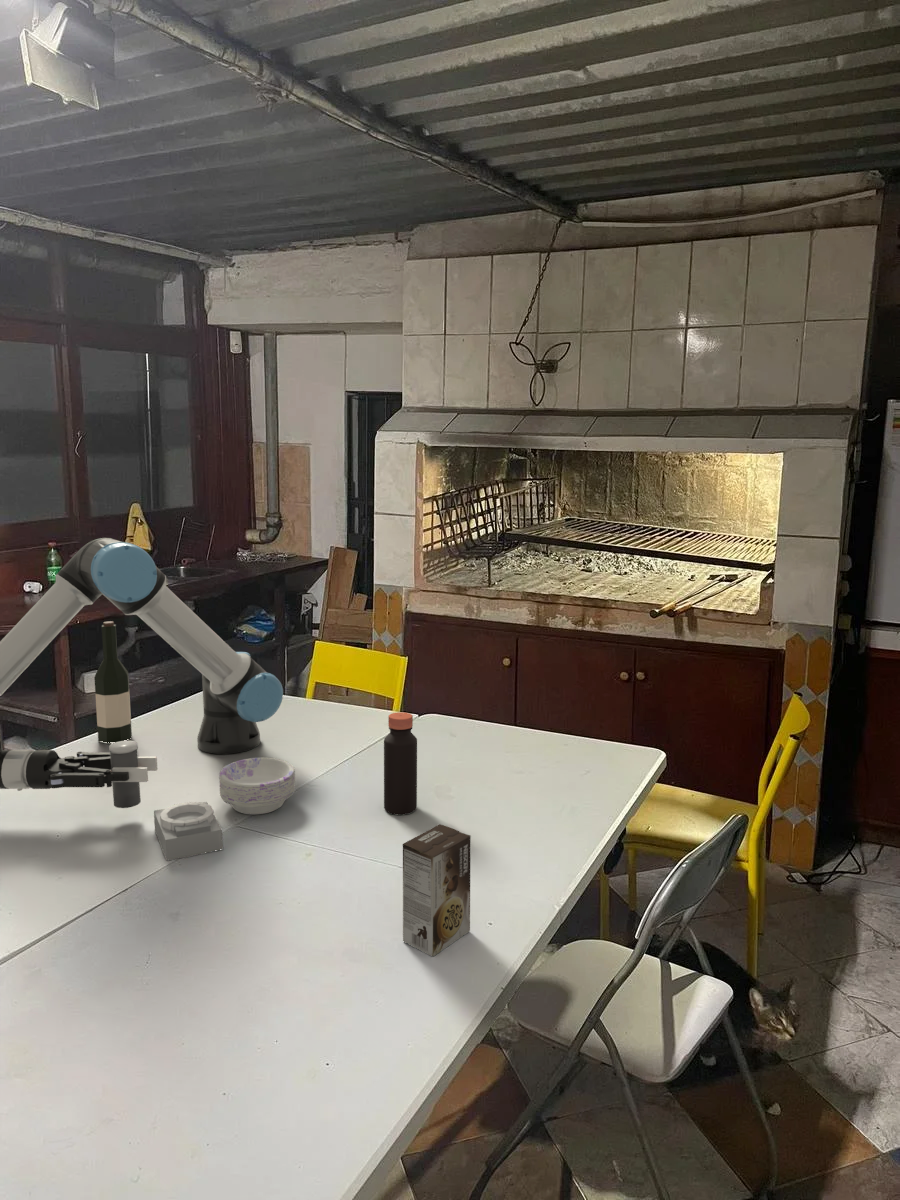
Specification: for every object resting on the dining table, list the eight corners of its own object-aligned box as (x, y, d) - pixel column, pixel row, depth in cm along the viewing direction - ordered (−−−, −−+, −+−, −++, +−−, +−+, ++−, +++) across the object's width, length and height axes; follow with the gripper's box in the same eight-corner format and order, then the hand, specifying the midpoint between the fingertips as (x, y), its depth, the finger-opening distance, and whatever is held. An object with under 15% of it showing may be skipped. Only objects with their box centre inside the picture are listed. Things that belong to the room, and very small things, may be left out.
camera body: (207, 820, 173) (206, 794, 172) (222, 849, 161) (221, 821, 160) (154, 830, 169) (153, 803, 168) (166, 860, 157) (165, 832, 156)
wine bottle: (138, 734, 224) (132, 619, 219) (123, 744, 216) (116, 626, 211) (107, 732, 225) (100, 618, 220) (91, 743, 217) (83, 625, 211)
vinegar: (377, 811, 179) (377, 717, 175) (394, 799, 185) (394, 708, 181) (406, 818, 176) (406, 722, 172) (422, 806, 182) (423, 713, 178)
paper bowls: (278, 824, 172) (277, 786, 171) (207, 817, 175) (205, 779, 174) (306, 794, 187) (305, 759, 185) (240, 788, 190) (238, 753, 188)
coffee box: (439, 917, 139) (440, 822, 136) (471, 932, 135) (472, 834, 132) (400, 942, 132) (400, 842, 129) (433, 958, 128) (433, 855, 125)
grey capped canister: (139, 795, 176) (135, 739, 174) (142, 805, 171) (139, 747, 169) (111, 800, 174) (107, 743, 172) (114, 810, 169) (110, 751, 167)
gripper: (54, 770, 181) (167, 769, 181) (12, 806, 163) (137, 806, 163) (51, 735, 179) (165, 735, 180) (8, 768, 162) (134, 768, 162)
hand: (151, 769), depth 171 cm, fingers closed on grey capped canister, 5 cm apart
